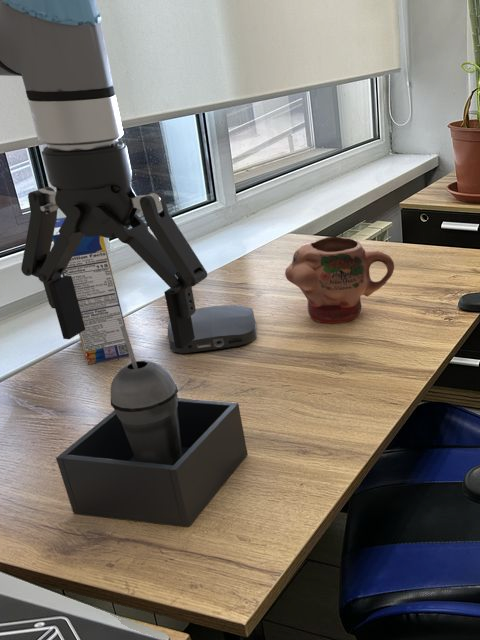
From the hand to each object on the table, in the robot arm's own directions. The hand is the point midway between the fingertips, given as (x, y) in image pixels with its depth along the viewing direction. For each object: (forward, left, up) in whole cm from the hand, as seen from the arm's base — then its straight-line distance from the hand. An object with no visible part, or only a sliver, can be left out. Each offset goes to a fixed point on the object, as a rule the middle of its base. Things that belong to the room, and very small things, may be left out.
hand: (129, 338), depth 79 cm
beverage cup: (0, 0, -19) cm, 19 cm away
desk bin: (0, 0, -20) cm, 20 cm away
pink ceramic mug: (+4, +55, -20) cm, 59 cm away
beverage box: (-32, +34, -20) cm, 50 cm away
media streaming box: (-16, +42, -20) cm, 49 cm away
